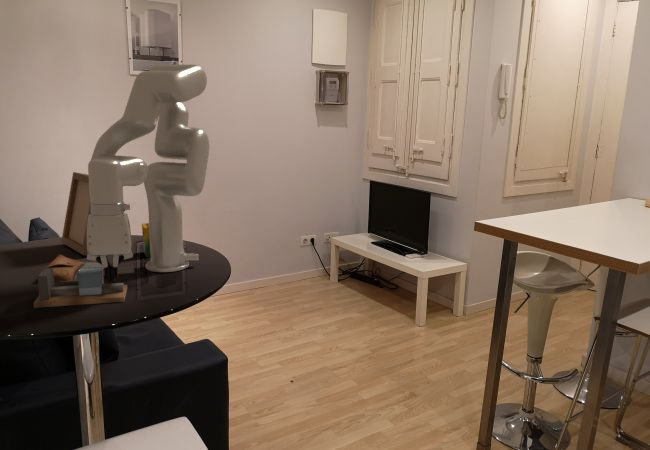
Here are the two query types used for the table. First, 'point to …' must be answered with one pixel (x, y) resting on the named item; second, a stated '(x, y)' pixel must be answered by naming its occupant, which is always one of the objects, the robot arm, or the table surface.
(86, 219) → the photo frame
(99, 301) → the rail board
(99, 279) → the grey slider block
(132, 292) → the table surface
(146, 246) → the crayon box
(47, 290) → the dark grey slab
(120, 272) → the smartphone
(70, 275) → the sunglasses case
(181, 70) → the robot arm
